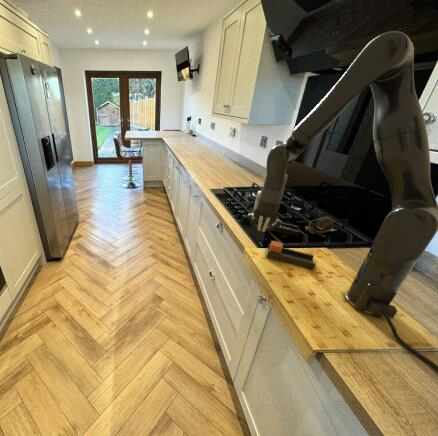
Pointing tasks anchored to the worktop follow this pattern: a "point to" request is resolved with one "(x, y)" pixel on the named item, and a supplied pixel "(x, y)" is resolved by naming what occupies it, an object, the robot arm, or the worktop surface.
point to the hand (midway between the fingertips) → (258, 238)
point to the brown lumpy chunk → (320, 225)
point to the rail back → (286, 231)
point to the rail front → (292, 257)
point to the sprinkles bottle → (257, 200)
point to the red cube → (276, 247)
